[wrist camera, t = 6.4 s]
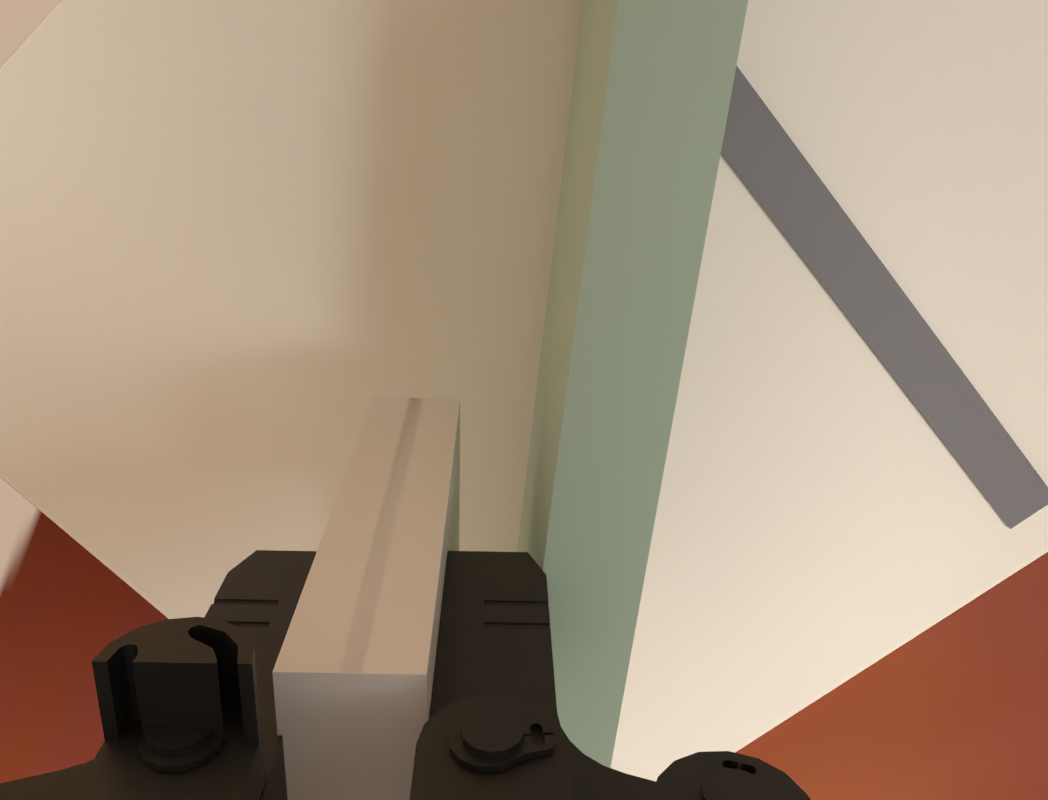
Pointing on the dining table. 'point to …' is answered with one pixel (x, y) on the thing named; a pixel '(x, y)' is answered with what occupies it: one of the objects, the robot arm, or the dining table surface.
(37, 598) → the dining table surface
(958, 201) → the card
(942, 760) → the dining table surface
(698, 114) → the green fence panel
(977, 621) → the dining table surface
